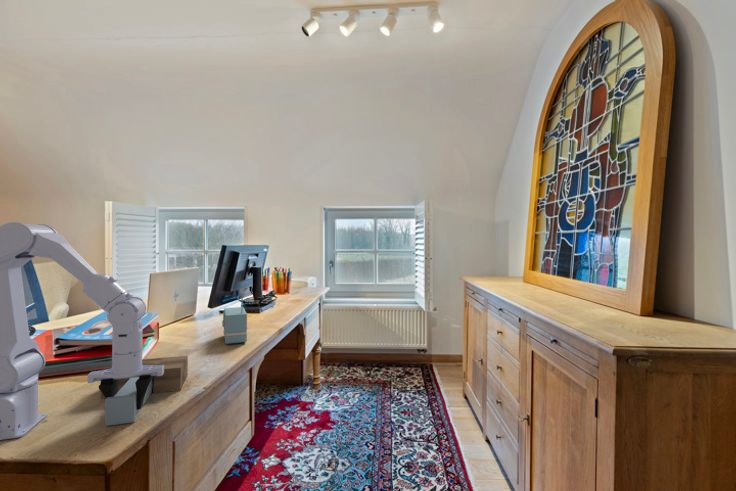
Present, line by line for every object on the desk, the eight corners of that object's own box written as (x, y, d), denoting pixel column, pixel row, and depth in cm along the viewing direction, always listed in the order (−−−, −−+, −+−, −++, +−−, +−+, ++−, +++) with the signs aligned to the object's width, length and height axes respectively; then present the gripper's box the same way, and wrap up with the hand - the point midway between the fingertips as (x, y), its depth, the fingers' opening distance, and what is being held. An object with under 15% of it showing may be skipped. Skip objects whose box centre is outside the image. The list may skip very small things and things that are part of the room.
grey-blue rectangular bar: (134, 422, 75) (134, 396, 75) (105, 426, 73) (105, 399, 73) (155, 390, 91) (155, 368, 91) (132, 392, 90) (132, 370, 89)
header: (180, 390, 92) (180, 367, 92) (101, 399, 86) (101, 374, 86) (187, 376, 101) (187, 355, 101) (116, 383, 96) (116, 361, 96)
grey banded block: (221, 336, 145) (221, 289, 145) (243, 333, 149) (243, 288, 149) (222, 346, 131) (222, 295, 130) (246, 343, 134) (247, 293, 134)
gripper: (167, 343, 84) (166, 397, 85) (97, 348, 80) (97, 405, 80) (159, 352, 78) (159, 410, 78) (83, 358, 73) (82, 420, 73)
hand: (127, 409), depth 78 cm, fingers closed on grey-blue rectangular bar, 4 cm apart
